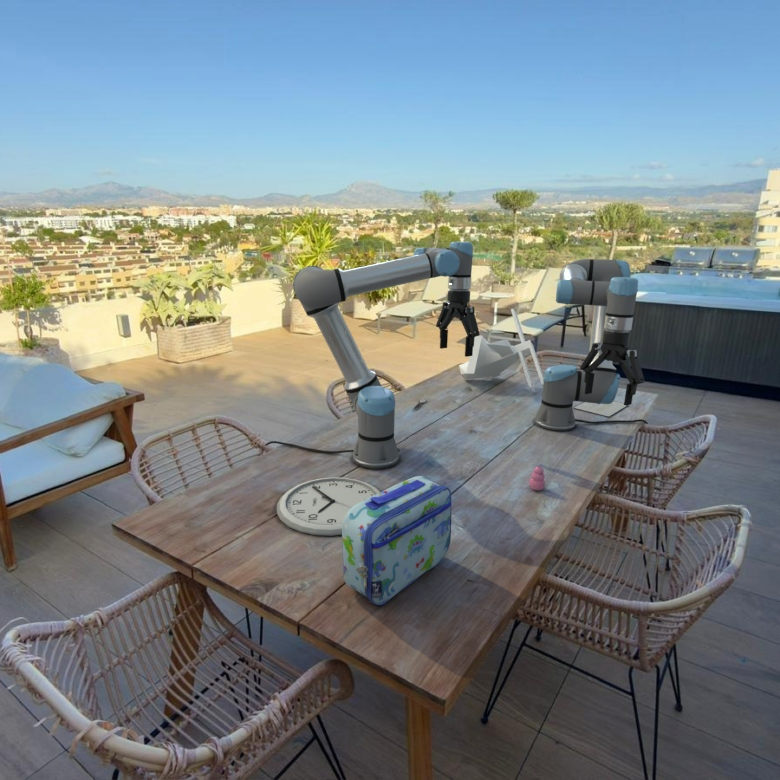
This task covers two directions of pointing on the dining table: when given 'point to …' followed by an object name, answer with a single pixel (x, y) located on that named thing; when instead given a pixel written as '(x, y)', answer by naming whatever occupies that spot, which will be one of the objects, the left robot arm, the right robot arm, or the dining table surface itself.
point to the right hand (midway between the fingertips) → (607, 398)
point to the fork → (421, 401)
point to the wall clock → (322, 504)
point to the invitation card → (601, 408)
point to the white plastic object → (500, 357)
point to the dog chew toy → (537, 479)
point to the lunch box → (395, 537)
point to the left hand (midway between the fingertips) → (455, 352)
